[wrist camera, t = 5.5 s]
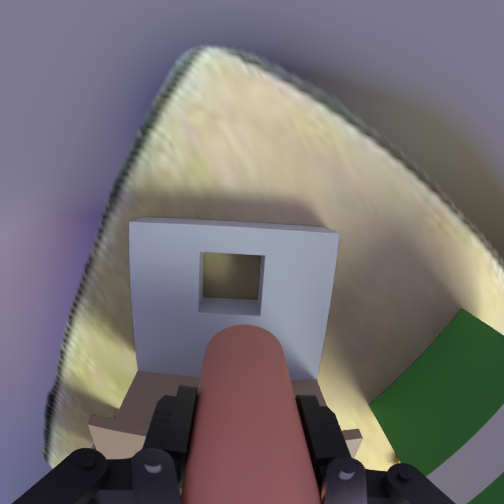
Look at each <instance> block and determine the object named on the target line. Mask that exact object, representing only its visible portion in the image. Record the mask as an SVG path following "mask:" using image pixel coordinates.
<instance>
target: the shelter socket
mask: <svg viewBox="0 0 504 504" xmlns="http://www.w3.org/2000/svg"><path fill="white" fill-rule="evenodd" d="M339 235H340V234H339V233H337V232H335V231H333V230H331V229H329V228H327V227H315V226H301V225H287V224H272V223H257V222H240V221H222V220H203V219H182V218H159V217H141V218H138V219H135V220H133V221H130V222H129V262H130V288H131V305H132V318H133V330H134V341H135V350H136V359H137V367H138V371H137V373H136V376H135V378H134V380H133V382H132V384H131V386H130V388H129V390H128V392H127V394H126V396H125V398H124V400H123V403H122V405H121V407H120V409H119V411H118V413H117V415H116V417H115V420H111V419H107V418H102V417H98V416H93V415H92V417H91V419H90V421H89V423H88V427H89V430H90V433H91V436H92V439H93V441H94V444H95V447H96V450H97V451H99V452H100V453H102V454H103V455H104V456H105V458H106V459H127V458H130V457H133V456H134V455H135V454H136V453H137V452H138V451H140V450H141V449H142V447H143V445H144V442H145V438H146V435H147V432H148V429H149V426H150V423H151V420H152V417H153V413H154V410H155V407H156V404H157V402H158V401H159V400H160V399H161V398H162V397H163V396H164V395H170V396H176V395H177V391H178V387H179V385H186V386H193V387H198V388H199V382H200V376H201V371H202V365H203V360H204V354H205V350H206V347H207V345H208V343H209V341H210V340H211V339H212V338H213V336H214V335H216V334H217V333H218V332H220V331H221V330H223V329H225V328H228V327H231V326H235V325H243V324H244V325H254V326H258V327H261V328H263V329H266V330H267V331H269V332H270V333H272V334H273V335H274V336H275V337H276V338H277V339H278V340H279V342H280V344H281V346H282V348H283V352H284V356H285V360H286V363H287V367H288V371H289V375H290V379H291V383H292V387H293V391H294V395H295V398H296V396H297V395H298V394H299V395H316V397H317V399H318V402H319V405H320V406H327V405H326V403H325V400H324V398H323V395H322V392H321V390H320V387H319V385H318V382H317V375H318V370H319V365H320V360H321V355H322V350H323V344H324V339H325V333H326V327H327V322H328V315H329V309H330V303H331V296H332V290H333V283H334V276H335V268H336V260H337V252H338V244H339ZM204 252H212V253H230V254H248V255H261V264H260V278H259V290H258V300H248V299H229V298H211V297H203V276H204ZM341 432H342V434H343V436H344V439H345V441H346V444H347V446H348V449H349V452H350V454H351V457H352V458H354V457H355V455H356V453H357V451H358V448H359V446H360V444H361V441H362V439H363V438H362V435H361V433H360V431H359V429H352V430H343V431H341Z"/></svg>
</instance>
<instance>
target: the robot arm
mask: <svg viewBox="0 0 504 504" xmlns="http://www.w3.org/2000/svg"><path fill="white" fill-rule="evenodd" d="M197 393H198V387H193V386H186V385H179V387H178V391H177V395H176V396H170V395H164V396H163V397H162V398H161V399H160V400H159V401H158V402H157V404H156V407H155V410H154V413H153V417H152V420H151V423H150V426H149V429H148V432H147V435H146V438H145V442H144V445H143V447H142V449H141V450H140V451H138V452H137V453H136V454H135V455H134V456H133V457H130V458H127V459H106V458H105V456H104V455H103V454H102V453H100V452H99V451H97V450H94V449H91V448H81V449H78V450H75V451H74V452H72V453H71V454H70V455H69V456H68V457H66V458H65V459H64V460H63V461H62V462H61V463H59V464H58V465H57V466H56V467H55V468H54V469H52V470H51V471H50V472H49V473H48V474H47V475H46V476H44V478H42V479H41V480H40V481H38V482H37V483H36V484H35V485H34V486H32V487H31V488H30V489H29V490H28V491H27V492H25V493H24V494H23V495H22V496H21V497H19V498H18V499H17V500H16V501H14V502H13V503H12V504H182V500H181V495H180V488H182V486H183V479H184V473H185V467H186V462H187V456H188V449H189V443H190V437H191V431H192V425H193V419H194V413H195V407H196V401H197ZM295 399H296V403H297V407H298V411H299V414H300V418H301V422H302V426H303V430H304V434H305V438H306V442H307V446H308V450H309V454H310V458H311V462H312V466H313V470H314V474H315V478H316V482H317V486H318V490H319V494H320V498H321V503H322V504H456V503H454V502H453V501H452V500H451V499H450V498H449V497H448V496H447V495H445V494H444V493H443V492H442V491H441V490H440V489H439V488H438V487H436V486H435V485H434V484H433V483H432V482H431V481H430V480H429V479H428V478H427V477H425V476H424V475H423V474H422V473H421V472H420V471H419V470H418V469H417V468H416V467H414V466H412V465H410V464H407V463H398V464H395V465H393V466H391V467H390V468H389V470H388V471H377V470H369V469H365V468H364V466H363V464H362V463H361V462H359V461H358V460H356V459H354V458H352V457H351V454H350V452H349V449H348V446H347V444H346V441H345V439H344V436H343V434H342V432H341V428H340V426H339V425H338V421H337V418H336V416H335V414H334V413H333V412H332V411H331V410H330V409H329V408H328V407H327V406H320V405H319V402H318V399H317V397H316V395H299V394H298V395H297V396H296V398H295Z"/></svg>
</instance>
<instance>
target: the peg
mask: <svg viewBox="0 0 504 504" xmlns="http://www.w3.org/2000/svg"><path fill="white" fill-rule="evenodd" d="M181 500H182V504H322V503H321V498H320V494H319V490H318V486H317V482H316V478H315V474H314V470H313V466H312V462H311V458H310V454H309V450H308V446H307V442H306V438H305V434H304V430H303V426H302V422H301V418H300V414H299V411H298V407H297V403H296V399H295V395H294V391H293V387H292V383H291V379H290V375H289V371H288V367H287V363H286V360H285V356H284V352H283V348H282V346H281V344H280V342H279V340H278V339H277V338H276V337H275V336H274V335H273V334H272V333H270V332H269V331H267V330H266V329H263V328H261V327H258V326H254V325H244V324H243V325H235V326H231V327H228V328H225V329H223V330H221V331H220V332H218V333H217V334H216V335H214V336H213V338H212V339H211V340H210V341H209V343H208V345H207V347H206V350H205V354H204V360H203V365H202V371H201V376H200V382H199V388H198V393H197V401H196V407H195V413H194V419H193V425H192V431H191V437H190V443H189V449H188V456H187V462H186V467H185V473H184V479H183V486H182V493H181Z"/></svg>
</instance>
